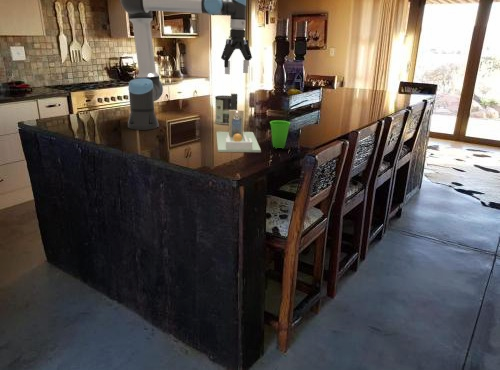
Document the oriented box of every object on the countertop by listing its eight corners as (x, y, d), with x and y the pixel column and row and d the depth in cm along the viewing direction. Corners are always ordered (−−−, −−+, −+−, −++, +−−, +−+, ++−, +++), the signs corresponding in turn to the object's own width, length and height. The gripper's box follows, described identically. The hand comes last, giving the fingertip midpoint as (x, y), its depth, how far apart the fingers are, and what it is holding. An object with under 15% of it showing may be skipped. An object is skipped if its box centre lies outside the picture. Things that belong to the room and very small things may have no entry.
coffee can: (235, 121, 222) (236, 96, 217) (231, 125, 212) (231, 98, 207) (218, 119, 224) (218, 94, 219) (212, 123, 214) (212, 97, 209)
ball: (233, 143, 173) (233, 134, 172) (232, 141, 177) (232, 132, 176) (242, 143, 174) (242, 134, 172) (241, 141, 178) (241, 132, 176)
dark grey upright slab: (232, 137, 180) (232, 101, 174) (229, 125, 203) (230, 93, 197) (241, 137, 180) (241, 101, 175) (237, 125, 204) (238, 93, 198)
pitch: (217, 152, 164) (218, 120, 159) (216, 133, 193) (216, 106, 189) (260, 152, 166) (262, 121, 161) (252, 133, 195) (253, 107, 191)
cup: (267, 144, 178) (268, 120, 174) (287, 144, 179) (288, 120, 175) (269, 149, 169) (271, 124, 165) (290, 150, 170) (292, 125, 166)
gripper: (225, 28, 184) (224, 75, 191) (259, 30, 201) (257, 73, 209) (214, 28, 188) (213, 73, 196) (248, 29, 206) (247, 71, 213)
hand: (236, 73), depth 202 cm, fingers open, 13 cm apart
